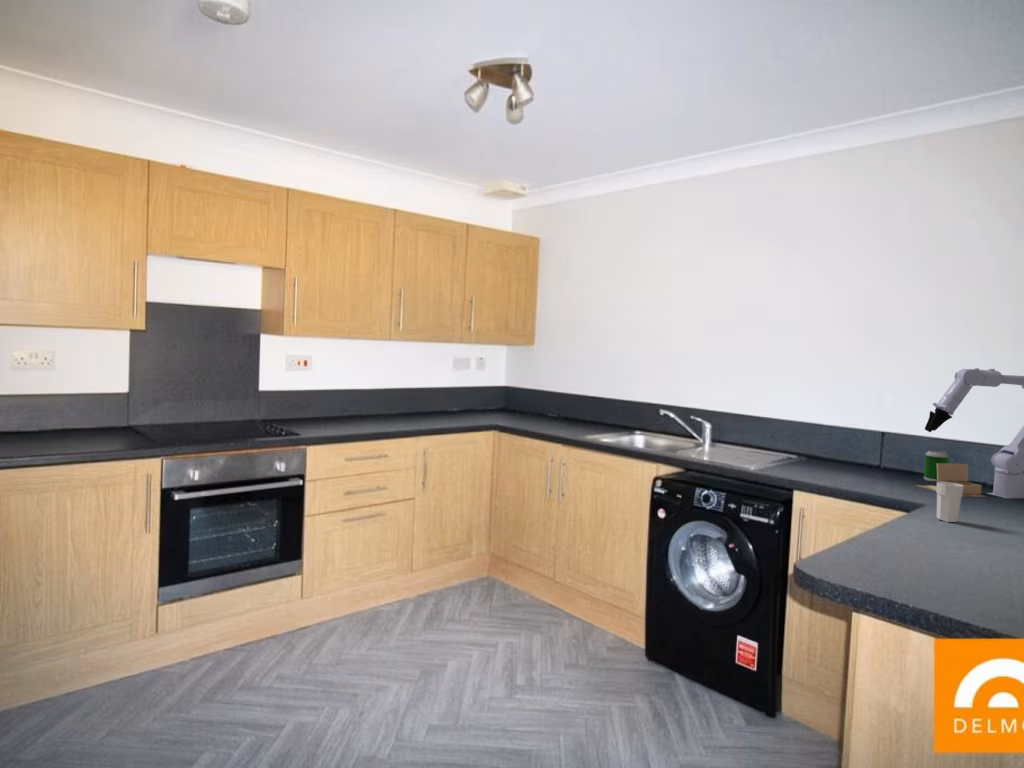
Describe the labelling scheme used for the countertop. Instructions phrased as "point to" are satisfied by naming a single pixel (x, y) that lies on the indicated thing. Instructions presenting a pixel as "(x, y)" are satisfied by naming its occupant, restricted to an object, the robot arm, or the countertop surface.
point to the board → (936, 490)
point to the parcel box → (969, 488)
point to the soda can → (933, 464)
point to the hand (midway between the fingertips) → (929, 430)
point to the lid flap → (952, 472)
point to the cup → (948, 500)
